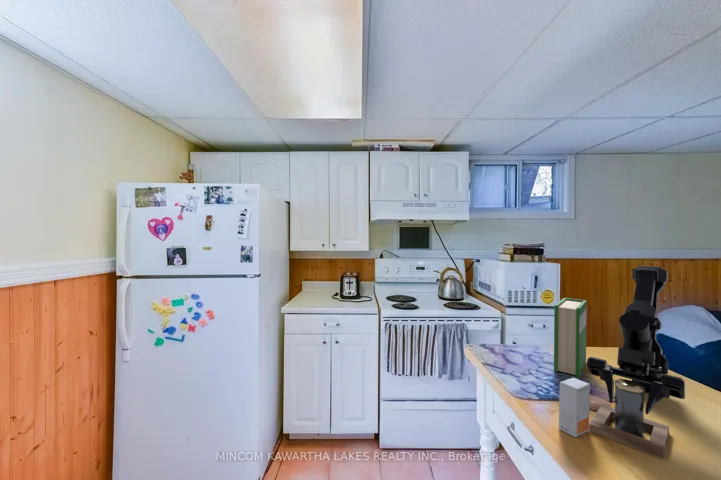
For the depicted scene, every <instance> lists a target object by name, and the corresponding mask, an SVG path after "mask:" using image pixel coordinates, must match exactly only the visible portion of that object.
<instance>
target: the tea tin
mask: <svg viewBox="0 0 721 480" xmlns="http://www.w3.org/2000/svg"><path fill="white" fill-rule="evenodd" d="M614 394H615V395H614V409H615V419H614V428H616V429H619V430H622V431H624V432H627V433H630V434H633V435H636V436H638V437H641V438H644V429H643V428H644V418H645V417H644V416H645V414H644V413H645V412H644V411H645V387H644V386H643V385H641V384H639V383H637V382H634V381H632V379H627V378H626V379H625V378H624V379H623V378H617V379H614Z"/></svg>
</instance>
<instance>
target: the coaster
mask: <svg viewBox="0 0 721 480" xmlns="http://www.w3.org/2000/svg"><path fill="white" fill-rule="evenodd" d="M601 405H605V406H608V407H611V408H612V403H610V401H607V400H606V399H604V398H601V397H599V396H596V395H592V394H590V405H589V410H591V411H596V412H597V411H598V409H599V408H600V406H601Z"/></svg>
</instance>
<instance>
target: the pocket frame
mask: <svg viewBox="0 0 721 480" xmlns="http://www.w3.org/2000/svg"><path fill="white" fill-rule="evenodd" d="M611 419H613V420H615V407H612V406H611V407H608V406H605V405H601V406H600V408H599V409H598V411H596V412H595V414H594V415H593V418H592V419H591V420H590V421H589V431H588V432H591V433H594V434H596V435H599V436H602V437H604V438H607V439H610V440H612V441H614V442H618V443H620V444H622V445H626V446H627V447H628V446H629V447H631V448H633V449H635V450H638V451H640V452H643V453H647V454H649V455H651V456H654V457H656V458H658V459H661V460H664V457H665V453H666V449H667V445H668V444H667V443H668V439H669V435H670V426H669V425H666V424H663V423H661V422H658V421H655V420H651V419H648V418H645V417H644V428H643V431H646V432H651V435H650V437H649V439H646V438H644V437H643V438H641V437H638V436H636V435H633V434H630V433H627V432H624V431H622V430H619V429H616V428H615V427H613V426H610V425H609V423H610V421H611Z"/></svg>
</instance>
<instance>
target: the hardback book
mask: <svg viewBox="0 0 721 480" xmlns="http://www.w3.org/2000/svg"><path fill="white" fill-rule="evenodd" d="M587 305H588V302H587V300H584V299H577V298H568V297H563V298H562V299H561V300H558V302H557V303H555V304H554V310H553V311H554V312H553V313H554V314H553V315H554V316H553V317H554V319H553V320H554V321H553V322H554V323H553V325H554V326H553V330H554V331H553V333H554V334H553V373H555V372H556V374H557V373H558V372H562V373H566V374H571V375H574V376H575V378H576V379H580V377H581V375H582V372H583V370H584V369H585V366H586V365H587V314H588V313H587V311H588V310H587V309H588V306H587Z"/></svg>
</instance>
